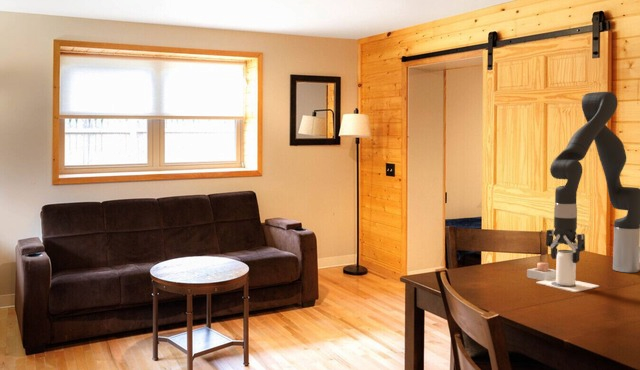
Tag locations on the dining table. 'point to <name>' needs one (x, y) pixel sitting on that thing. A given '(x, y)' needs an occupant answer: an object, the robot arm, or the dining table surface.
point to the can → (565, 268)
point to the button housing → (541, 274)
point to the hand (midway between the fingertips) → (564, 260)
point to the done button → (542, 267)
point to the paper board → (576, 288)
